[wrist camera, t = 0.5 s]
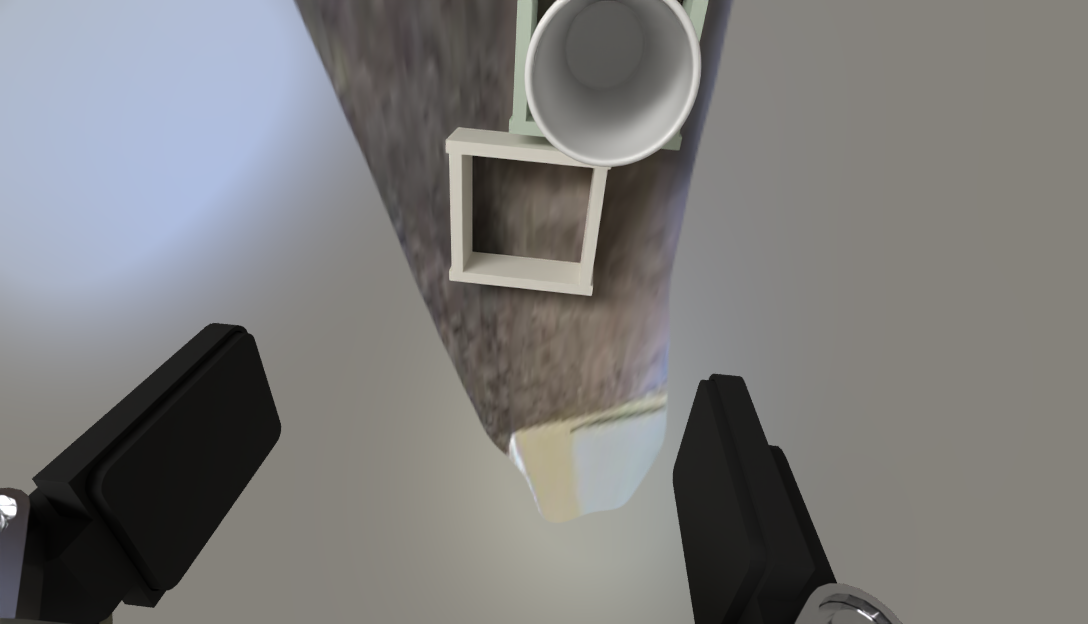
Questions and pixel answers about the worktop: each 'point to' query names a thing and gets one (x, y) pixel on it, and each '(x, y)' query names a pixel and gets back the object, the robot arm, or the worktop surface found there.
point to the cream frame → (504, 266)
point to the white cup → (612, 77)
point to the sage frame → (526, 25)
